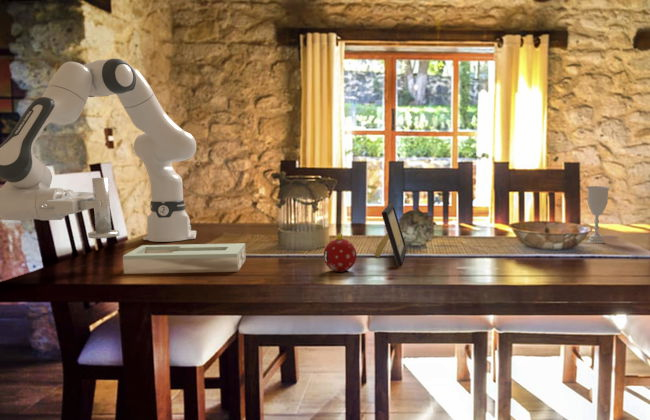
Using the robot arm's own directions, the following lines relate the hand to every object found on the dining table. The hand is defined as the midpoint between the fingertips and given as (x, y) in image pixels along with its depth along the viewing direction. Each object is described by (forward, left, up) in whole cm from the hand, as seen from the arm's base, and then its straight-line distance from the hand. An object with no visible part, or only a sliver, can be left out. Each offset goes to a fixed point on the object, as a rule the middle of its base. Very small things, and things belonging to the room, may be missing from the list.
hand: (105, 202), depth 152 cm
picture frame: (-8, +79, -18) cm, 82 cm away
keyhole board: (0, +22, -18) cm, 28 cm away
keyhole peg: (0, -1, -9) cm, 9 cm away
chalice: (-26, +149, -18) cm, 152 cm away
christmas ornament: (+10, +64, -18) cm, 67 cm away
